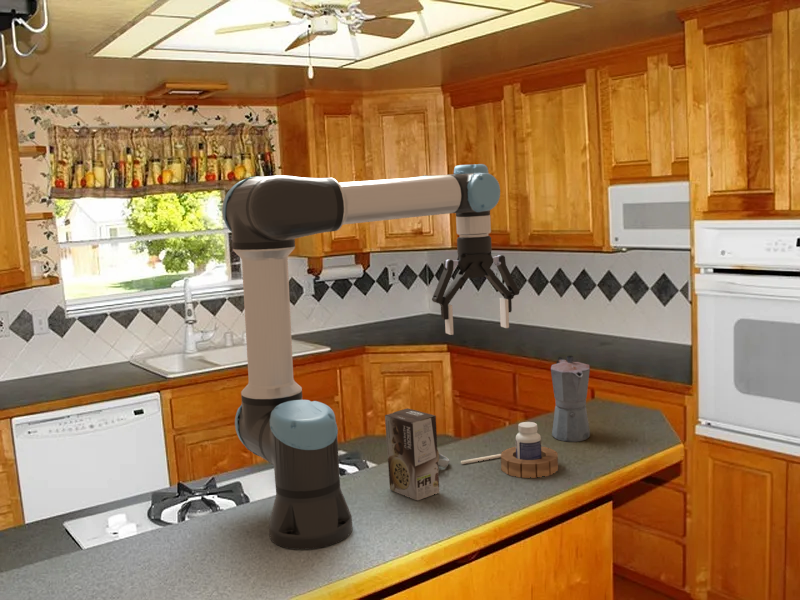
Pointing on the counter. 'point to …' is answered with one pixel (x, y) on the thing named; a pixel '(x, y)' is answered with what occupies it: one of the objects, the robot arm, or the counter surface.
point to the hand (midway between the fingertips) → (477, 330)
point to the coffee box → (412, 453)
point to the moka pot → (570, 400)
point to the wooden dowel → (481, 459)
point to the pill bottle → (528, 442)
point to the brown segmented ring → (529, 464)
